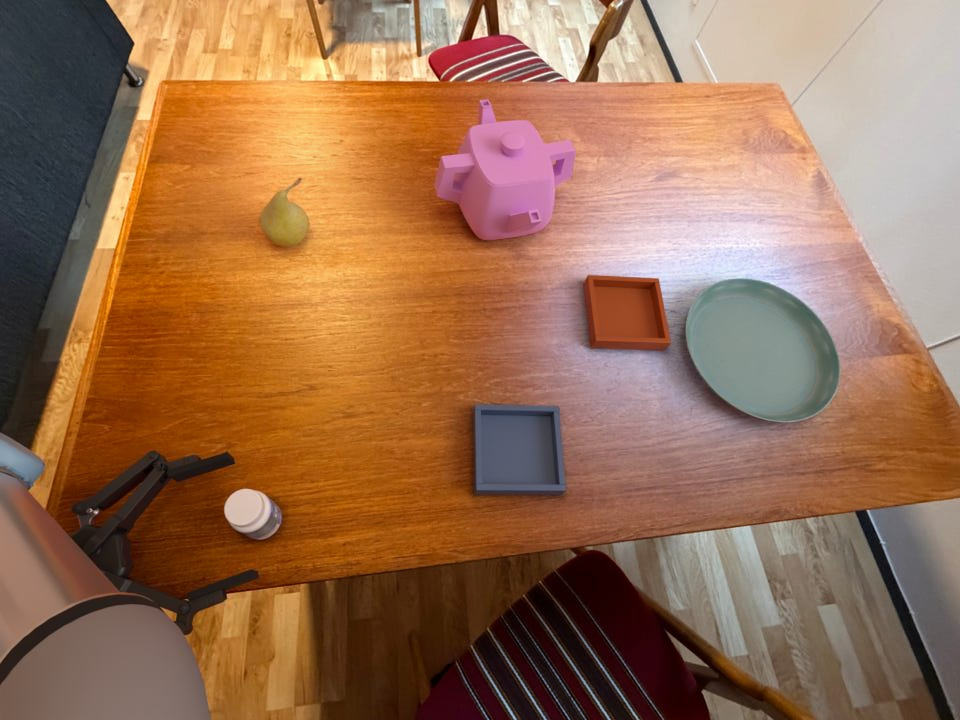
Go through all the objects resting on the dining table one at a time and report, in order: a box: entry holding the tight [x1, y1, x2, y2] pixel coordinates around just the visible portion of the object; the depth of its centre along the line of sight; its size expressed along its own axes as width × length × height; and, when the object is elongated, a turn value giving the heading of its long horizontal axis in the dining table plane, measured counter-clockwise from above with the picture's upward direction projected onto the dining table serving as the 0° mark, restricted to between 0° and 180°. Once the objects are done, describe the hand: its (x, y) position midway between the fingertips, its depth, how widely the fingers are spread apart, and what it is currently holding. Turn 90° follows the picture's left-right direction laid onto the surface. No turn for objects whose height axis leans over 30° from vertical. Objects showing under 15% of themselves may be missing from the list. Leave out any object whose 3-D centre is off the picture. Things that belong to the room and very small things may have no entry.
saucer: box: [685, 277, 841, 423], centre depth 84 cm, size 24×24×3 cm
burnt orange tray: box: [582, 274, 672, 352], centre depth 85 cm, size 12×12×3 cm
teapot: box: [433, 99, 577, 241], centre depth 86 cm, size 19×18×15 cm
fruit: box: [259, 177, 310, 248], centre depth 80 cm, size 7×8×12 cm
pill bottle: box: [223, 488, 283, 541], centre depth 63 cm, size 5×5×8 cm
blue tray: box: [472, 403, 567, 496], centre depth 73 cm, size 12×12×3 cm
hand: (243, 513), depth 62 cm, fingers open, 13 cm apart
